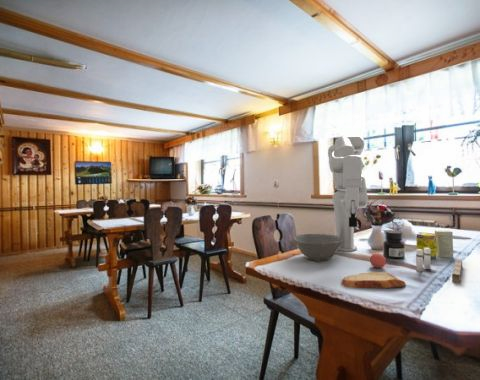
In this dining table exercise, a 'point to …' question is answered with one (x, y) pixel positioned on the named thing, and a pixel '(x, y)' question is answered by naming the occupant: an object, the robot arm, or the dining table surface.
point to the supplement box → (427, 243)
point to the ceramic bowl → (318, 245)
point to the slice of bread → (372, 281)
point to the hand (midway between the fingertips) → (352, 226)
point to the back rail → (457, 271)
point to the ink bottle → (394, 245)
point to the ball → (377, 260)
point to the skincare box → (444, 243)
